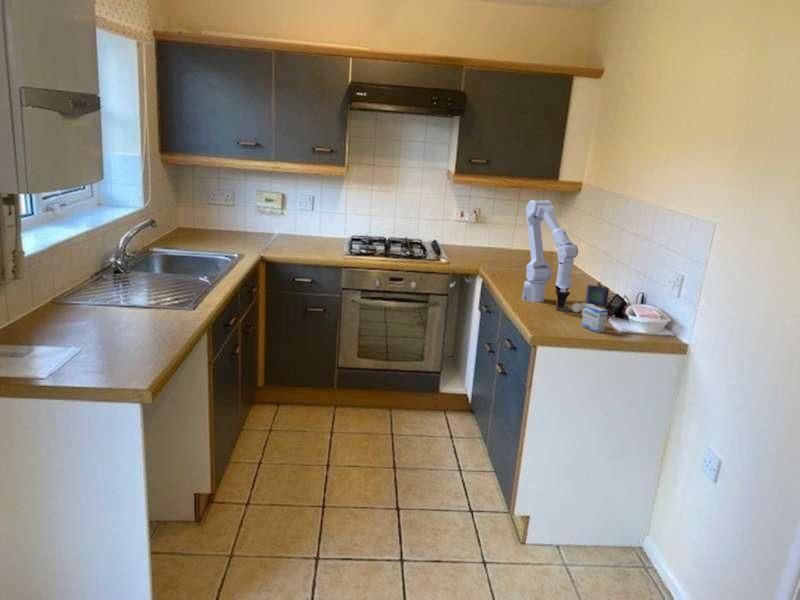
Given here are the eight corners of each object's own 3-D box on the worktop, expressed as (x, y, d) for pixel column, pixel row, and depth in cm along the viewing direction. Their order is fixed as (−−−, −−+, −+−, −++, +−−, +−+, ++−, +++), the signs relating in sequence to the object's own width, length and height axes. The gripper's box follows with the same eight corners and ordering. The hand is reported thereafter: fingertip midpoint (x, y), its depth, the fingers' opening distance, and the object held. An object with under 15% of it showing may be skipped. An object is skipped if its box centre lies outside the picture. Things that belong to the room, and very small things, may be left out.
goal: (581, 316, 243) (582, 309, 242) (579, 309, 252) (580, 303, 251) (594, 317, 242) (596, 310, 241) (593, 311, 251) (594, 304, 250)
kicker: (555, 311, 247) (558, 294, 245) (555, 307, 252) (557, 291, 250) (568, 312, 246) (570, 296, 244) (567, 309, 251) (570, 293, 249)
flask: (584, 304, 263) (587, 280, 260) (585, 303, 266) (589, 279, 263) (605, 308, 259) (609, 284, 256) (607, 307, 261) (610, 283, 258)
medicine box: (580, 326, 231) (584, 305, 229) (588, 325, 233) (592, 304, 231) (596, 333, 225) (600, 311, 222) (604, 331, 227) (608, 309, 225)
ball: (570, 313, 246) (572, 303, 245) (570, 310, 250) (571, 301, 249) (580, 314, 246) (582, 304, 245) (580, 311, 249) (581, 302, 248)
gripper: (575, 278, 237) (571, 310, 241) (573, 270, 251) (569, 301, 255) (557, 276, 239) (553, 308, 242) (556, 268, 252) (552, 299, 256)
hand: (560, 305), depth 249 cm, fingers open, 7 cm apart
